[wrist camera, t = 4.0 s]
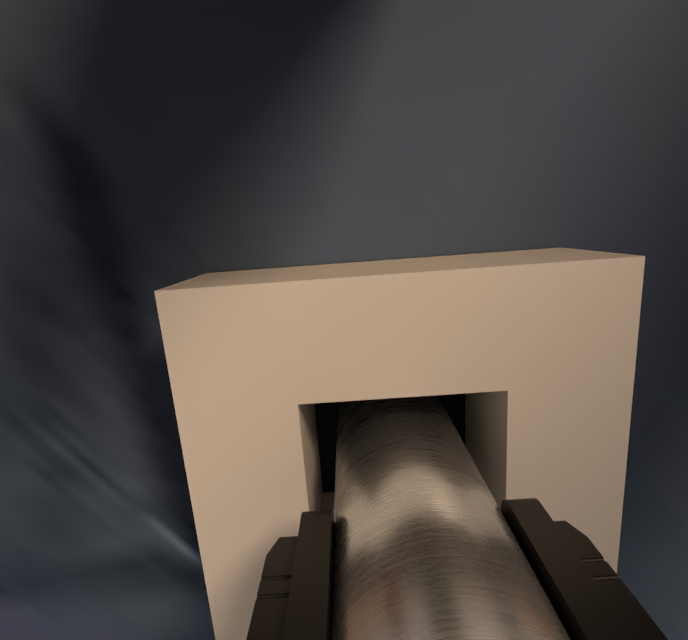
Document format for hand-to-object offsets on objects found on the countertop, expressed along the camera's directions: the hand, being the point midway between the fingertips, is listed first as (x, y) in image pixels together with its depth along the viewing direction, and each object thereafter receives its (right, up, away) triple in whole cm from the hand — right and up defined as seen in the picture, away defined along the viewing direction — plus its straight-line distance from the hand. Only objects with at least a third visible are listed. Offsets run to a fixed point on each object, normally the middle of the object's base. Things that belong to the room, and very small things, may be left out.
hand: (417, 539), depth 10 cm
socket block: (0, +1, +6) cm, 6 cm away
